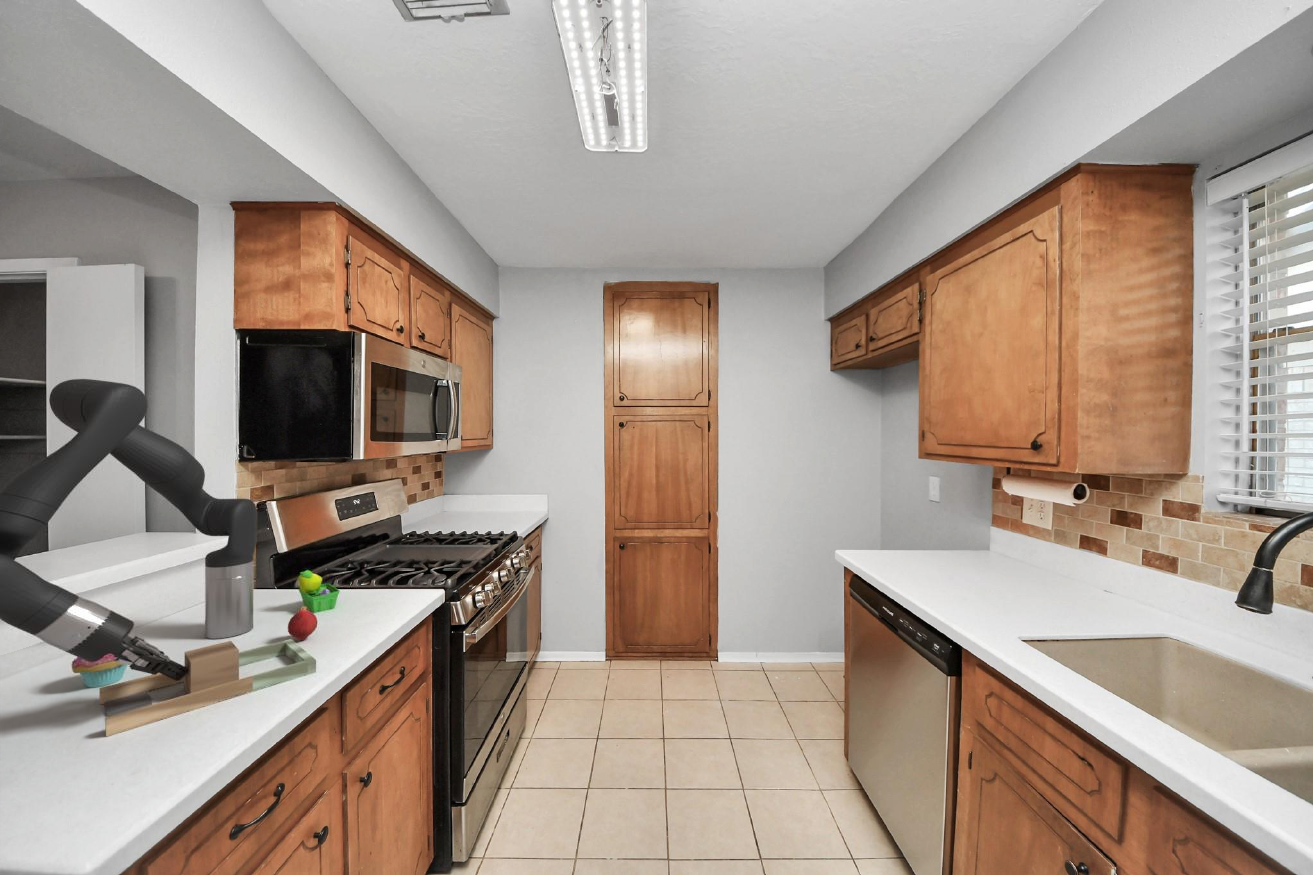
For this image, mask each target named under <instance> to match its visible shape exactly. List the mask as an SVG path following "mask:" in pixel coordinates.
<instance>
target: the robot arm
mask: <svg viewBox="0 0 1313 875" xmlns="http://www.w3.org/2000/svg"><path fill="white" fill-rule="evenodd" d="M48 399H49V400H48V401H49V405H50V406H49V408H50V410H51V411H52V413H53V415H54V416H55V418H57V419H58V421H60V422H61V423H62V424H64V425H65V426H67V427H68V428H69V429H71V430H73V431H74V432H76V435H74V437H72V438H71V439H70V440H69V441H68V442H67V443H65V444H64V445H62V446H61V447H59V448H58V449H57V450H55V451H54V452H52V453H50V454H49V455H48V456H46V457H44V458H42V459H41V460H39V461H36V462H35V463H34V464H32V465H30V466H28V467H27V468H25V469H24V470H22V471H21V472H20V473H18V474H17V475H15V476H14V477H13V478H11V480H9V481H8V482H7V483H6V484H5V485H4V486H3V487H2V488H1V489H0V620H1V621H3V622H4V623H6V624H8V625H10V626H11V627H14V628H16V629H18V630H21V631H23V632H25V633H28V634H29V635H31V636H34V637H36V638H37V639H39V640H41V641H42V642H44V643H46V644H47V645H49V646H52V647H54V648H57V649H59V650H60V651H63V652H65V653H68V654H70V655H73V656H75V657H76V658H77V657H79V658H81V659H84V660H86V661H88V662H95V661H98V660H100V659H101V658H103V657H104V656H105V655H107V654H113V655H114V657H116V659H115V661H116V662H118V663H121V664H123V665H127V666H128V667H129V668H130V669H131V671H132V670H133V671H138V672H142V673H146V674H150V675H153V674H154V675H156V674H157V673H161V674H163V675H165V676H167V677H169V678H171V679H174V680H176V681H179V680H181V679H182V678H183V677H184V676H185V675H186V674H187V673H188V669H187V667H185V665H184V664H181V663H178V662H176V661H174V660H172V659H170V657H169V656H168V655H165V652H164V651H163V650H160V649H159V648H158V647H156V646H155V645H153V644H150V643H149V642H147V641H146V640H145V638H142V637H141V636H139V635H135V636H134V637H131V636H129V634H130V633H131V632H132V630H133V628H134V627H135V622H134V621H133V620H131V619H130V618H127V617H125V616H123V615H122V614H119V613H117V612H116V611H113V610H111V609H110V608H107V607H106V606H103V605H102V604H100V603H98V602H95V601H93V600H90V599H86V598H83V597H82V596H79V595H77V594H75V593H73V592H71V591H69V590H67V589H65V588H63V587H61V586H60V585H56V584H54V583H52V582H49V581H48V580H45V579H44V578H42V577H41V576H39V574H37V573H36V572H33V571H32V570H31V569H29V568H27V567H26V566H24V565H23V564H21V563H19V561H16V560H17V557H18V556H19V555H20V553H21V552H22V551H23V549H24V548H25V547H26V546H27V544H28V543H30V542H31V541H32V540H34V539H35V538H37V536H39V534H40V533H41V532H43V529H44V528H45V527H46V526H47V524H49V522H50V521H51V519H52V518H53V516H54V515H55V514H56V512H57V511H58V510H59V509H60V507H61V506H62V505H63V503H64V502H65V501H66V499H67V498H68V497H69V496H70V494H71V493H72V491H74V489H76V487H78V485H79V484H80V483H81V482H82V481H83V479H84V478H85V477H87V475H89V473H90V472H92V471H93V470H94V469H95V468H96V467H97V466H98V465H99V464H100V463H101V462H102V461H103V460H104V459H105V458H106V457H107V456H108V455H111V456H112V457H113V458H115V460H116V461H118V462H119V463H120V464H122V465H123V466H124V467H126V468H127V469H129V471H130V472H132V473H133V474H134V475H136V476H137V477H138V478H139V479H140V480H141V481H142V482H144V483H145V484H146V485H147V486H149V487H150V488H151V489H153V490H154V491H155V492H156V493H158V494H159V495H161V496H162V497H163V498H165V499H166V501H168V502H169V503H170V504H171V505H172V506H174V507H175V508H176V509H177V510H178V511H179V512H180V513H181V514H183V516H184V517H185V519H187V520H188V522H190V523H191V525H192V526H193V527H194V528H195V529H196V530H197V531H199V533H201V534H203V535H204V536H205V535H206V536H208V537H209V536H210V537H228V539H227V544H226V545H225V546H223V547H222V548H219V549H216V550H213V551H210V552H209V553H207V554H206V555H205V558H204V559H205V560H204V567H205V568H204V569H205V571H204V572H205V573H204V576H205V577H204V582H205V583H204V585H205V586H204V588H205V590H204V591H205V592H204V593H205V594H204V599H205V601H204V602H205V603H204V604H205V605H204V606H205V607H204V608H205V609H204V610H205V611H204V612H205V613H204V614H205V615H204V619H205V620H204V624H205V625H204V630H205V632H204V636H205V638H207V639H212V640H213V639H214V640H215V639H224V638H230V637H234V636H239V635H242V634H244V633H248V632H249V631H251V630H253V629H254V554H255V550H256V546H257V530H258V518H259V517H258V508H257V506H256V504H255V502H254V501H253V500H251V499H249V498H216V497H214V496H212V495H210V494H209V493H208V492H207V491H206V490H204V489H203V487H204V485H205V484H204V483H205V479H206V472H205V469H204V466H203V465H202V464H201V463H200V462H199V460H198V459H196V458H195V456H193V454H191V453H190V452H189V451H188V450H187V449H186V448H184V447H183V446H181V445H180V444H179V443H177V442H175V441H173V440H171V439H169V438H167V437H166V436H163V435H161V434H158V433H157V432H154V431H153V430H150V429H148V428H146V427H144V426H142V425H141V422H142V421H143V420H144V418H145V417H146V414H147V412H148V407H149V406H148V405H149V404H148V400H147V396H146V394H144V392H143V391H142V390H141V389H140V388H138V387H136V386H134V385H131V384H127V383H123V382H114V381H110V380H109V381H108V380H101V379H91V378H89V379H88V378H74V379H67V380H64V381H61V382H59V383H58V384H56V385H55V386H54V387H53V388H52V389H51V392H50V394H49V398H48Z"/></svg>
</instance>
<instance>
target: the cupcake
mask: <svg viewBox="0 0 1313 875" xmlns="http://www.w3.org/2000/svg"><path fill="white" fill-rule="evenodd" d="M115 659H116V657H114V655H113V654H107V655H105V656H104V657H103V658H101V659H100V660H98V661H95V662H88V661H86V660H84V659H81V658H79V657H77V656H76V658H74V660H72V662H71V670H72V672H73V673H74V674H79V675H80V676H81V677H82V679H83V681H84V683H85V685H86V687H88V688H102V687H106V686H110V685H111V684H112V685H113V684H114V683H115V684H116V683H117V682H119V681H120V680H122V678H123V677H124V673H125V671H126V669H127V667H128V665H123V664H121V663H118V662H116V661H115Z"/></svg>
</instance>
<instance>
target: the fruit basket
mask: <svg viewBox="0 0 1313 875" xmlns="http://www.w3.org/2000/svg"><path fill="white" fill-rule="evenodd" d="M299 574H300V575H299V576H298V577H297V582H298V587H299V589H298V591H299V593H300V596H301V599H302V603H303V607H304V606H305V607H307V610H308V611H310V612H312V613H313V614H316V613H320V612H327V611H328V610H329V611H330V610H334V609H335V607H336V604H337V600H338V598H339V595H340V593H341V592H340V591H341V590H340V589H338V588H337V587H335V586H334V585H332V584H330V583H322V582H323V578H322V577H321V576H320V575H318V574H316V573H313V572H312V571H311V570H309V569H307V570H305V571H301V572H299Z"/></svg>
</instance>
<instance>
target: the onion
mask: <svg viewBox="0 0 1313 875" xmlns="http://www.w3.org/2000/svg"><path fill="white" fill-rule="evenodd" d="M317 627H318V618H317V617H316V615H315V613H313V612H312V611H310V610H309V609H308V608H307V607H305V606H304V605H303V606H302V607H301V608H300V609H299V610H298V611H297V612H295V614H294V615H293V616H291V618H290V620H289V621H288V624H287V632H288V633H289V635H290V636H291V637H293V638H294V639H297V640H299V641H305V640H306V639H308V638H309V636H310V635H312V634H313V633H314V632H315V631H316V629H317Z"/></svg>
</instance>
